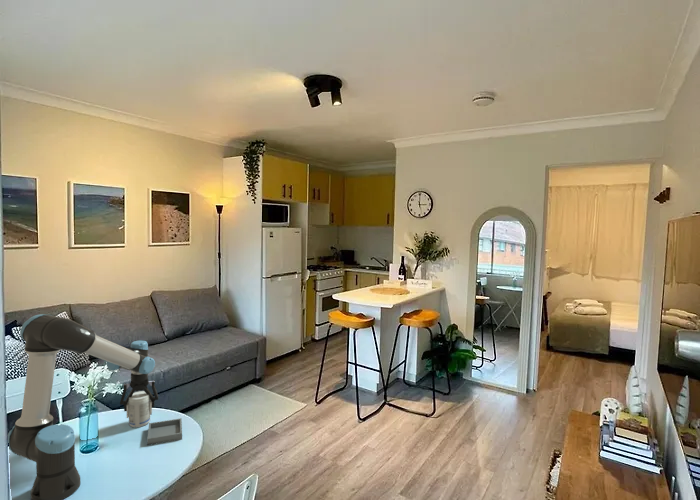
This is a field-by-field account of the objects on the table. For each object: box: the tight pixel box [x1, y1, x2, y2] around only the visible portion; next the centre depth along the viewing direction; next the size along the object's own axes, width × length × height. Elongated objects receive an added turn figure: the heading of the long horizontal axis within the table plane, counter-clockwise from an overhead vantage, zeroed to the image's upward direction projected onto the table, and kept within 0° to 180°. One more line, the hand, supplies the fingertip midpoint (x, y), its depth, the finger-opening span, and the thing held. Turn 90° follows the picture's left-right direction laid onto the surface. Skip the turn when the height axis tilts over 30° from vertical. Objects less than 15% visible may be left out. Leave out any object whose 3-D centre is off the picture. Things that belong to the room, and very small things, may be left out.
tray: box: [146, 417, 183, 446], centre depth 191 cm, size 15×15×3 cm
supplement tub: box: [128, 390, 151, 428], centre depth 199 cm, size 10×10×15 cm
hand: (139, 415), depth 199 cm, fingers closed on supplement tub, 10 cm apart
